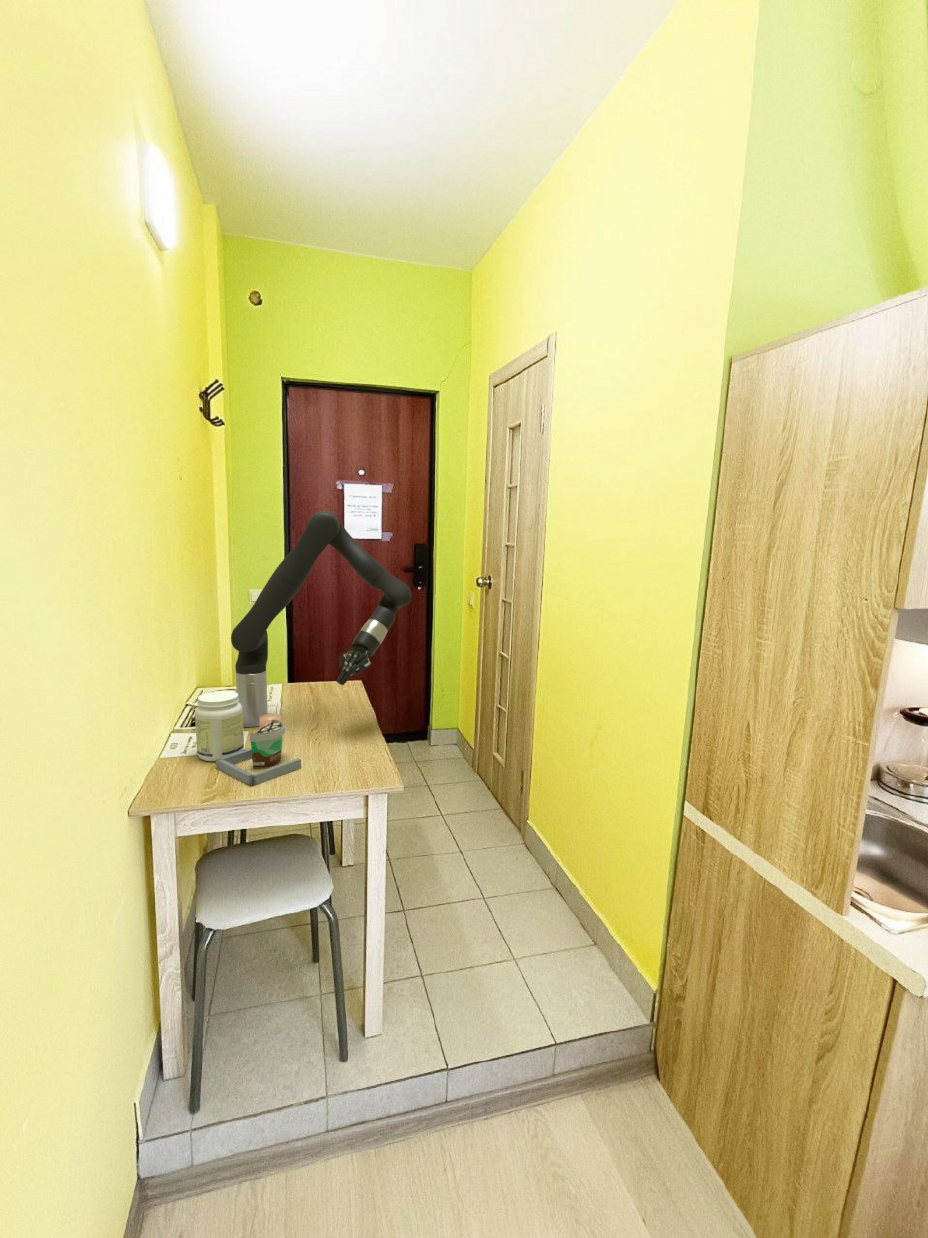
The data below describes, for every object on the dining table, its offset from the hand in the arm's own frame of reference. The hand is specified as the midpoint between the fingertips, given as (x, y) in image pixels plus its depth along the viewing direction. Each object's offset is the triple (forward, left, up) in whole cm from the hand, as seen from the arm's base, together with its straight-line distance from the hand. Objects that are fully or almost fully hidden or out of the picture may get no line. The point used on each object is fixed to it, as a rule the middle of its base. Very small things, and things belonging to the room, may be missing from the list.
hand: (339, 683), depth 173 cm
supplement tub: (-16, -29, -18) cm, 38 cm away
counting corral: (0, -27, -18) cm, 33 cm away
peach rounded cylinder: (-13, -15, -18) cm, 27 cm away
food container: (-1, -23, -18) cm, 29 cm away
